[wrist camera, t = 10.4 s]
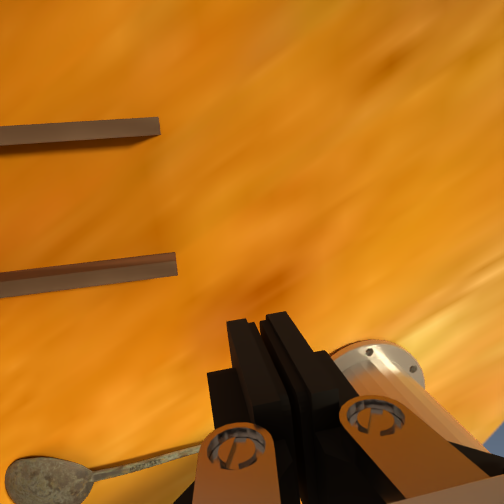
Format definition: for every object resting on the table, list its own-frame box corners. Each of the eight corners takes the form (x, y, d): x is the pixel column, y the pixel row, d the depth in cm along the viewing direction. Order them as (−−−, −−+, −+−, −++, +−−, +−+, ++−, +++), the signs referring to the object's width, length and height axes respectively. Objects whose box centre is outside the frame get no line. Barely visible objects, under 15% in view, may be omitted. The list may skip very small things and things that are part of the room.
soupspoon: (-2, 450, 37) (19, 504, 39) (-19, 481, 34) (5, 538, 36) (239, 402, 40) (246, 455, 42) (245, 426, 37) (252, 482, 39)
